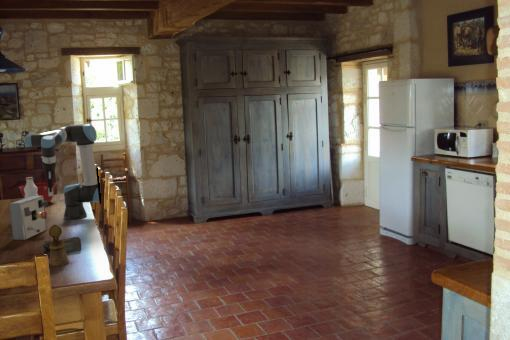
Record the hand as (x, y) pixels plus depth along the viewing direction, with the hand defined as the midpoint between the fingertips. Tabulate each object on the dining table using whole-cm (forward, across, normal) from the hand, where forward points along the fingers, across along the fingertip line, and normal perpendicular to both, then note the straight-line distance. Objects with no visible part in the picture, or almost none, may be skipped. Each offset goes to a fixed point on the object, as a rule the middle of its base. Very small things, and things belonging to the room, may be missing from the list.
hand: (50, 195), depth 325 cm
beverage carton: (+4, +54, +5) cm, 54 cm away
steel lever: (+16, +14, -11) cm, 23 cm away
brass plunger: (+13, +5, -7) cm, 16 cm away
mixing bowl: (+66, -100, -10) cm, 120 cm away
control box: (+24, +5, -13) cm, 28 cm away
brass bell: (-4, +73, +3) cm, 73 cm away
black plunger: (+10, -5, -5) cm, 13 cm away
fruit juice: (+48, -53, -13) cm, 73 cm away
